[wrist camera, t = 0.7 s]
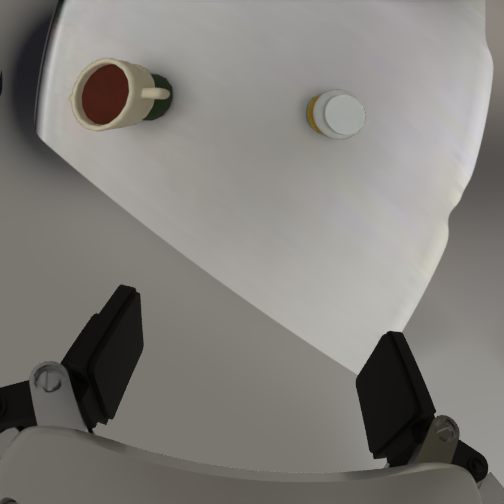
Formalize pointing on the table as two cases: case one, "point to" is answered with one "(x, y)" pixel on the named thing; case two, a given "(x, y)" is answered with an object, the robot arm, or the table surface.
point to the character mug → (118, 95)
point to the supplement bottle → (336, 114)
